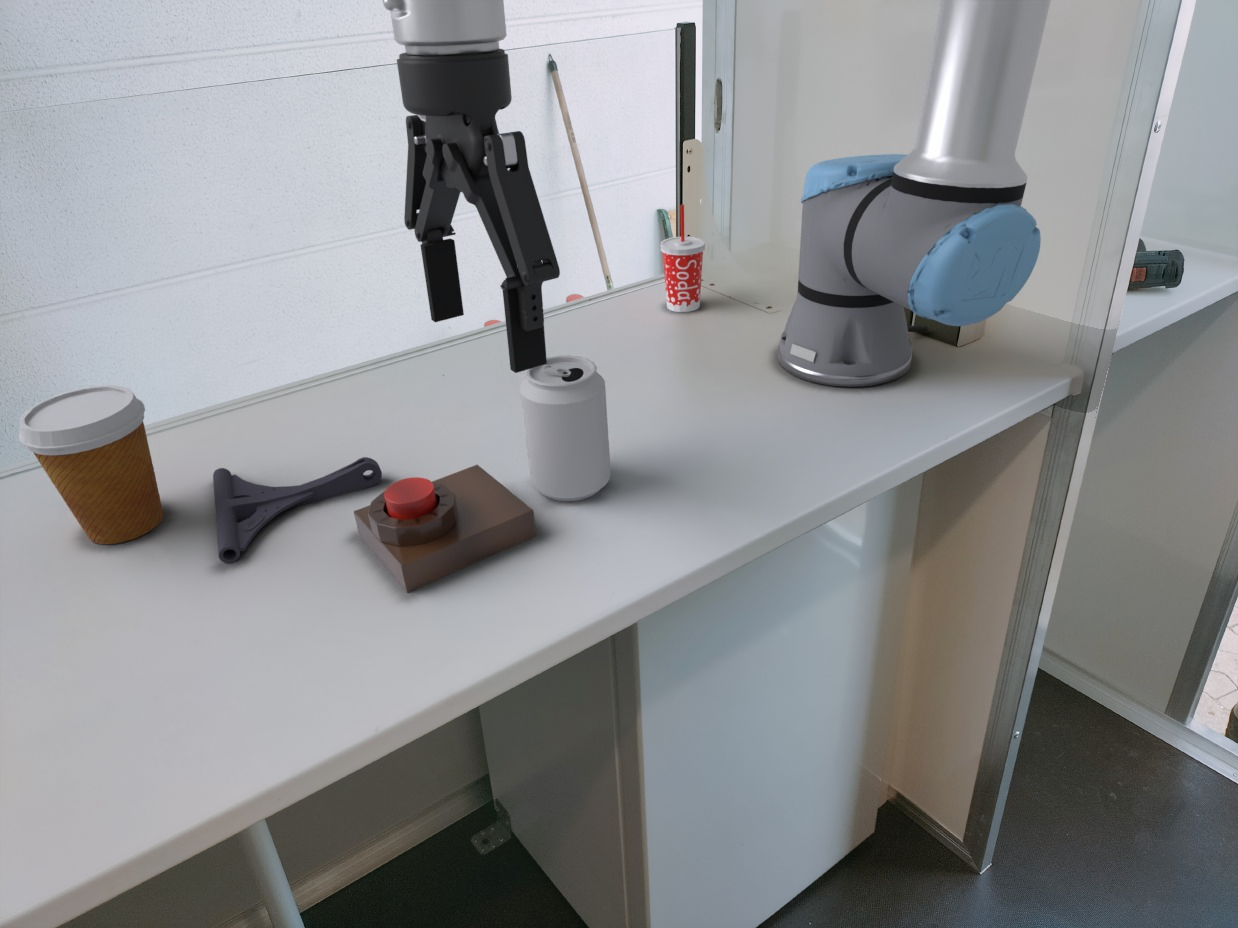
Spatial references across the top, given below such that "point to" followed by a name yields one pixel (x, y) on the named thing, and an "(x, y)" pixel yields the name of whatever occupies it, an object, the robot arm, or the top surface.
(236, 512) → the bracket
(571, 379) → the can
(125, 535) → the disposable coffee cup
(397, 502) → the button
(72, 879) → the top surface
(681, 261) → the beverage cup
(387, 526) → the button box
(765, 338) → the top surface
